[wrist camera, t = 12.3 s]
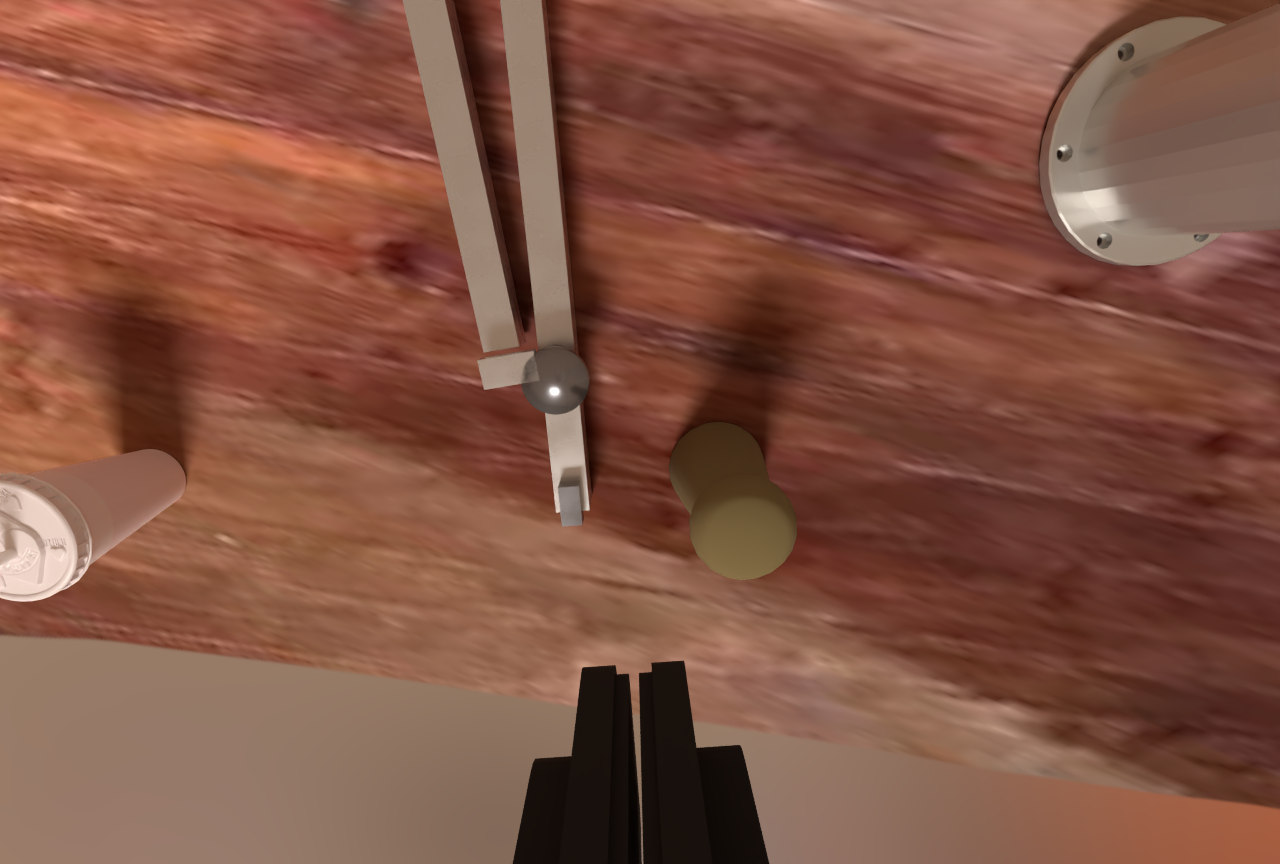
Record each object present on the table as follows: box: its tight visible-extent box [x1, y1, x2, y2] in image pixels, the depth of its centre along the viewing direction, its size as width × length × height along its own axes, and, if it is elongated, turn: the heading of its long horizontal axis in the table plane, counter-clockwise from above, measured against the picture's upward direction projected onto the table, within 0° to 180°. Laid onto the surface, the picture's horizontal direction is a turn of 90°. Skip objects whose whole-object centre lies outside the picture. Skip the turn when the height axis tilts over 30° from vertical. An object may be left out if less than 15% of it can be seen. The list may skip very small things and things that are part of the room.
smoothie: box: [0, 449, 186, 601], centre depth 32 cm, size 6×6×14 cm
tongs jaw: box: [403, 0, 590, 415], centre depth 33 cm, size 6×24×4 cm, turn 9°
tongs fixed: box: [500, 0, 592, 526], centre depth 34 cm, size 2×31×4 cm, turn 4°
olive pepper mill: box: [669, 422, 797, 580], centre depth 34 cm, size 6×6×11 cm
